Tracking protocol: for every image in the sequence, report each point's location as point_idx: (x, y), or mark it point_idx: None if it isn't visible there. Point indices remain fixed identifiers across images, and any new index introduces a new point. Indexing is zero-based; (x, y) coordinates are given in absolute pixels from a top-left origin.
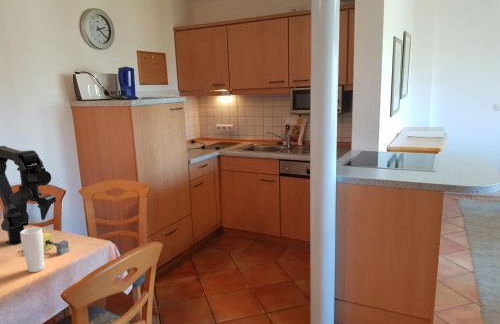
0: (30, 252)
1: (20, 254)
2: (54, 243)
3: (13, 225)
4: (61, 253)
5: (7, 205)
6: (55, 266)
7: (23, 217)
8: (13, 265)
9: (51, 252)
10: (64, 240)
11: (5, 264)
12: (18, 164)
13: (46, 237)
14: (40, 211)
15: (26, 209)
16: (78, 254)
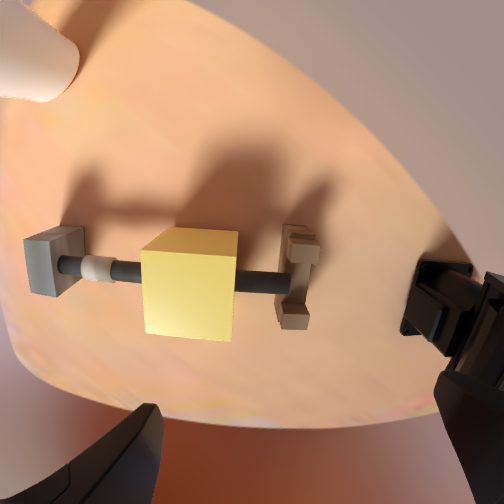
0: None
1: (287, 158)
2: (85, 260)
3: (487, 305)
4: (54, 227)
5: None
6: (11, 129)
7: (447, 375)
8: (194, 45)
9: (126, 234)
10: (49, 295)
11: (251, 41)
12: None
13: (145, 285)
14: (84, 494)
15: (464, 470)
16: (13, 253)
